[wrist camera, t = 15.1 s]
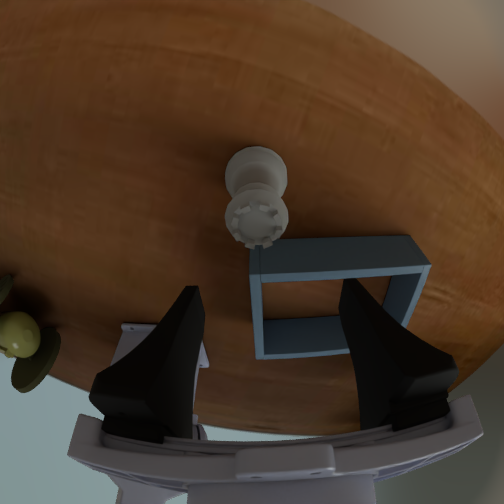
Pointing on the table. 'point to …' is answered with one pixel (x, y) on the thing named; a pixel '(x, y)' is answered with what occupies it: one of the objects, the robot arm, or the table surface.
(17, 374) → the cannon
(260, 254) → the box
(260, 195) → the rook chess piece
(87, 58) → the table surface
